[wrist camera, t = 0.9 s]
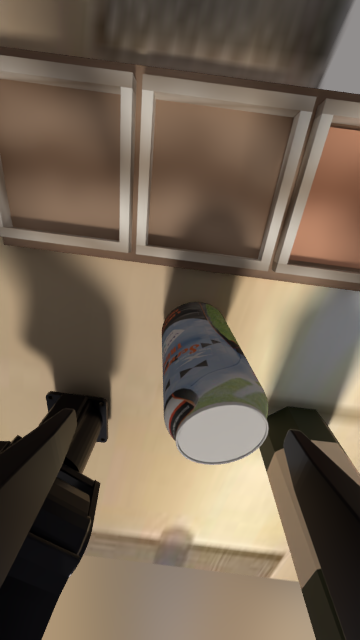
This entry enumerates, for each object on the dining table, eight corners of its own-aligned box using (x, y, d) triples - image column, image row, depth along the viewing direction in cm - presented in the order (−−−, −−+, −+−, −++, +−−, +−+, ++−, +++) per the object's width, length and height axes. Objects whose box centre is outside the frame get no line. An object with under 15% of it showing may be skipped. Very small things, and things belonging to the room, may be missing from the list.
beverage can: (175, 288, 21) (156, 365, 10) (248, 314, 21) (308, 415, 10) (155, 344, 23) (122, 455, 12) (221, 365, 24) (246, 490, 13)
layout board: (385, 292, 20) (405, 299, 18) (12, 243, 20) (-6, 245, 18) (474, 118, 15) (514, 104, 13) (-21, 52, 15) (-52, 29, 13)
